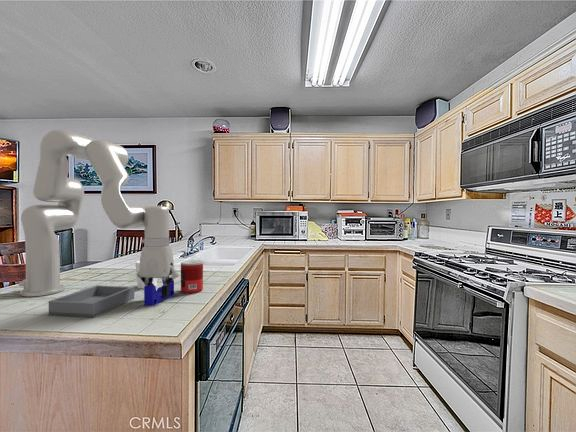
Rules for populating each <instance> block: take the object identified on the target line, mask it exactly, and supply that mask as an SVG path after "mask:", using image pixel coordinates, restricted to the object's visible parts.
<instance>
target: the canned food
mask: <svg viewBox="0 0 576 432" xmlns="http://www.w3.org/2000/svg"><path fill="white" fill-rule="evenodd" d="M203 286H204V261H203V260H201V259H189V260H183V261H181V262H180V292H181V293H183V294H188V295H189V294H190V295H192V294H198V293H201V292H202V291H203V289H204V287H203Z"/></svg>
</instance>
